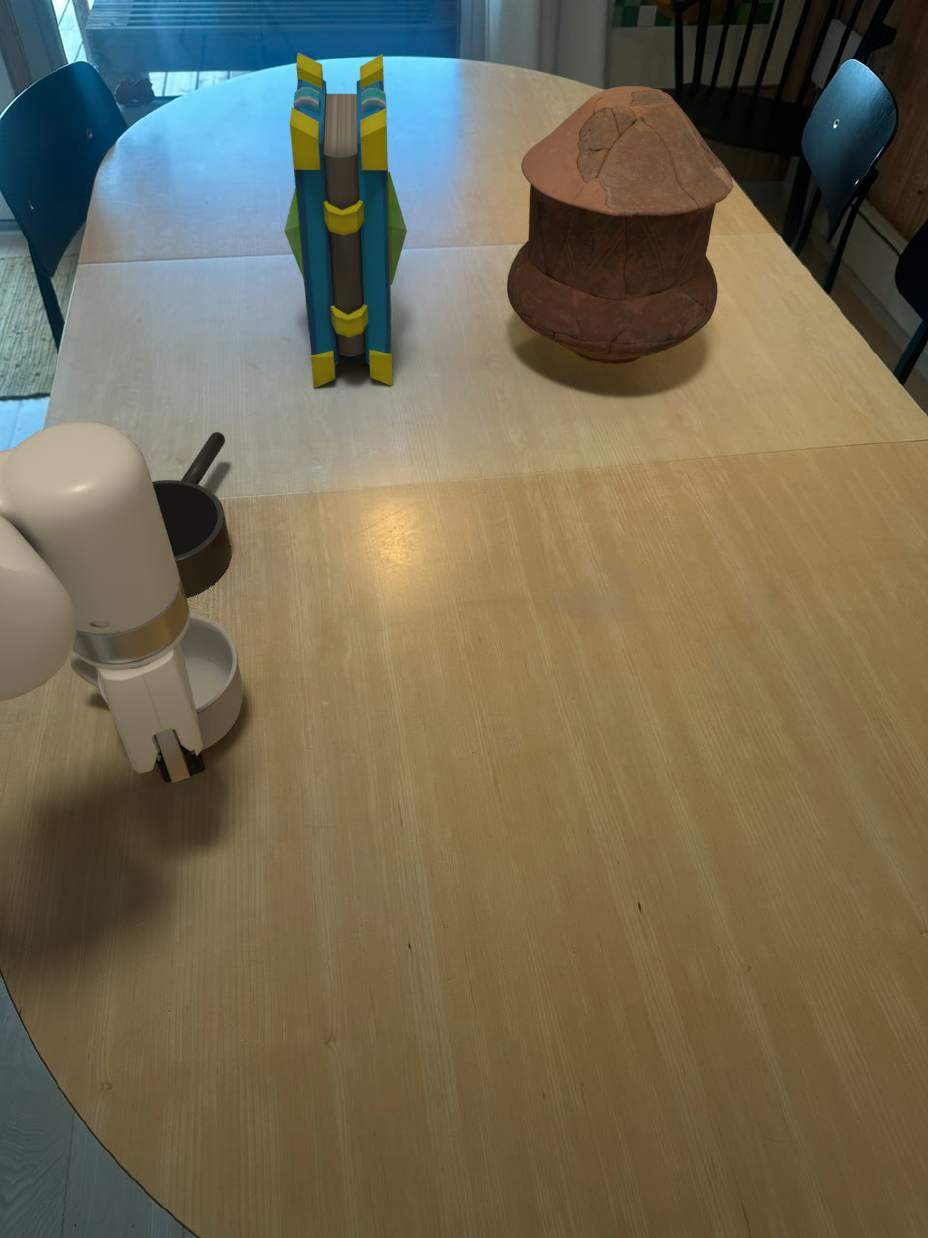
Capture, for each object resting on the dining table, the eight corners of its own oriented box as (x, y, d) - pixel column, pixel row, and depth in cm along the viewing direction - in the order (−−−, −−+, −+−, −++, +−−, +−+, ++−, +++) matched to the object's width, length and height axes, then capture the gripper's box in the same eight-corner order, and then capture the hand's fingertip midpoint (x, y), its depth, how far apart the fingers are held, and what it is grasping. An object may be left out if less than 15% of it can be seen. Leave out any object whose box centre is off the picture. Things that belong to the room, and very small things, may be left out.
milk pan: (83, 589, 92) (69, 551, 88) (173, 457, 106) (165, 419, 102) (203, 612, 91) (194, 574, 87) (278, 475, 104) (273, 437, 101)
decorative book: (404, 296, 131) (402, 50, 109) (411, 395, 115) (410, 131, 93) (298, 297, 130) (274, 48, 108) (290, 397, 114) (260, 130, 92)
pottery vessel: (715, 411, 116) (785, 152, 93) (501, 399, 116) (521, 138, 93) (689, 300, 133) (744, 60, 111) (504, 290, 133) (521, 47, 111)
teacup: (273, 698, 84) (262, 637, 78) (202, 795, 77) (184, 736, 71) (139, 646, 88) (119, 584, 82) (60, 735, 81) (32, 674, 75)
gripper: (47, 545, 64) (118, 710, 78) (79, 718, 55) (152, 869, 68) (162, 517, 66) (211, 682, 80) (210, 679, 57) (256, 834, 70)
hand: (183, 768), depth 74 cm, fingers closed
